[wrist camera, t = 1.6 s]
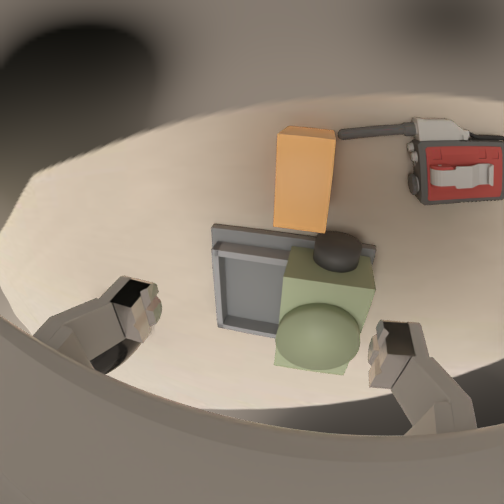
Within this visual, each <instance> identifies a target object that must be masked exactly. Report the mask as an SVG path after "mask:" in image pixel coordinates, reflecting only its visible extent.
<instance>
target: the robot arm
mask: <svg viewBox="0 0 504 504" xmlns="http://www.w3.org/2000/svg"><path fill="white" fill-rule="evenodd" d="M158 292H159V291H158V287H157V285H156V284H155V283H153V282H148V281H144V280H140V279H136V278H131V277H128V276H120V277H119V278H118V279H117V280H116V281H115V282H114V284H113V285H112V286H111V287H110V288H109V289H108V290H107V291H106V292H105V293H104V294H103V295H102V296H101V297H100V298H99V299H98V298H95V299H93V300H90V301H88V302H85V303H83V304H80V305H78V306H76V307H73V308H71V309H68V310H66V311H64V312H61V313H59V314H56V315H54V316H52V317H49V319H48V320H47V321H46V322H45V323H44V324H43V325H42V326H41V327H40V328H39V329H38V330H37V332H36V333H35V334H34V335H33V336H31V335H30V334H28V333H27V332H25V331H24V330H22V329H20V328H19V327H17V326H16V325H14V324H13V323H11V322H10V321H8V320H7V319H6V318H4V317H3V316H1V315H0V504H504V424H499V425H495V426H489V427H484V428H479V429H477V425H476V420H475V415H474V410H473V405H472V400H471V398H470V397H469V396H468V395H467V394H466V393H465V392H464V391H463V390H462V388H461V387H460V386H459V385H458V384H457V383H456V382H455V381H454V380H453V378H452V377H451V376H450V375H449V374H448V373H447V372H446V371H445V370H444V369H443V368H442V367H441V366H440V364H439V363H438V362H437V361H436V360H435V359H434V358H433V357H429V353H428V349H427V345H426V341H425V338H424V334H423V330H422V327H421V324H420V323H415V322H400V321H389V320H380V321H379V322H378V325H377V327H376V330H377V334H376V335H374V336H373V337H372V339H371V342H370V345H369V350H368V362H369V364H370V365H371V368H370V370H369V387H373V388H385V389H391V391H392V393H393V394H394V396H395V398H396V399H397V401H398V402H399V404H400V406H401V407H402V409H403V411H404V412H405V414H406V416H407V417H408V419H409V421H410V422H411V424H412V425H413V427H412V428H411V429H410V430H409V431H408V432H407V433H406V434H405V435H404V436H364V435H363V436H362V435H344V434H332V433H321V432H312V431H304V430H297V429H289V428H283V427H277V426H271V425H266V424H260V423H255V422H251V421H246V420H241V419H237V418H232V417H228V416H224V415H220V414H216V413H213V412H209V411H205V410H202V409H198V408H195V407H191V406H188V405H185V404H181V403H178V402H175V401H172V400H169V399H166V398H163V397H160V396H157V395H155V394H152V393H149V392H146V391H144V390H141V389H139V388H136V387H134V386H131V385H129V384H126V383H124V382H121V381H119V380H117V379H114V378H112V377H110V376H107V375H105V374H103V373H101V372H99V371H96V370H94V368H93V366H92V364H91V362H90V360H92V359H94V358H95V357H97V356H98V355H100V354H102V353H103V352H105V351H106V350H108V349H110V348H111V347H113V346H115V345H116V344H118V343H119V342H121V341H123V340H124V339H125V338H127V339H131V340H134V341H137V342H141V343H143V342H144V341H145V340H146V338H147V337H148V335H149V334H150V332H151V328H150V326H152V325H154V324H156V323H157V322H158V320H159V319H160V315H161V312H162V305H161V301H160V299H159V298H158V297H157V296H156V295H157V293H158Z"/></svg>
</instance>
